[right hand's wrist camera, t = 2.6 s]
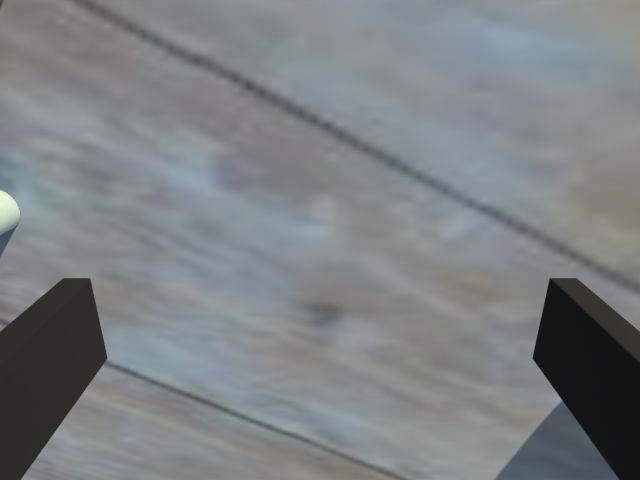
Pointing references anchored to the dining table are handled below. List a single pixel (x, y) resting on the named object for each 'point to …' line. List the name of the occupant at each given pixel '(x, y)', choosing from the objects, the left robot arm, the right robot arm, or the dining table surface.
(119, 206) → the dining table surface
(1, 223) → the jar
